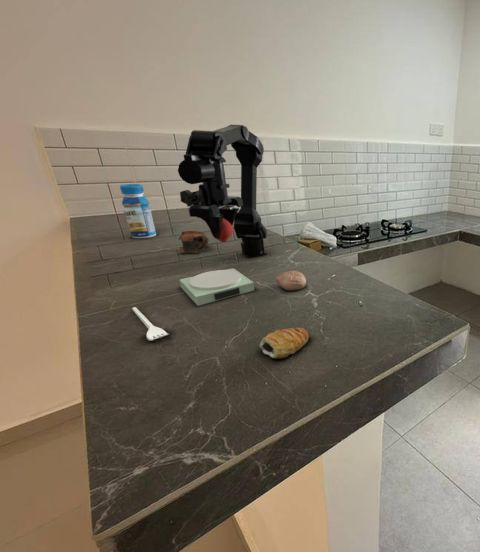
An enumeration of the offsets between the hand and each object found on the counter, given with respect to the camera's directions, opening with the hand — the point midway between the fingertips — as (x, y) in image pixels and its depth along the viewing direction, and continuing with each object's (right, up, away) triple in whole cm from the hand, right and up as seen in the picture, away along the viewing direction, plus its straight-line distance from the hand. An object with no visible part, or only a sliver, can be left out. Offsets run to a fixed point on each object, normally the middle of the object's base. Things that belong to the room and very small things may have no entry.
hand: (222, 235), depth 95 cm
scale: (+2, -16, -6) cm, 17 cm away
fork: (-3, -23, -24) cm, 33 cm away
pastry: (+28, -27, -29) cm, 49 cm away
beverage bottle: (-51, +4, +36) cm, 62 cm away
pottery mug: (-22, -3, +23) cm, 32 cm away
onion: (0, -2, +1) cm, 2 cm away
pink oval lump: (+21, -15, -2) cm, 26 cm away
